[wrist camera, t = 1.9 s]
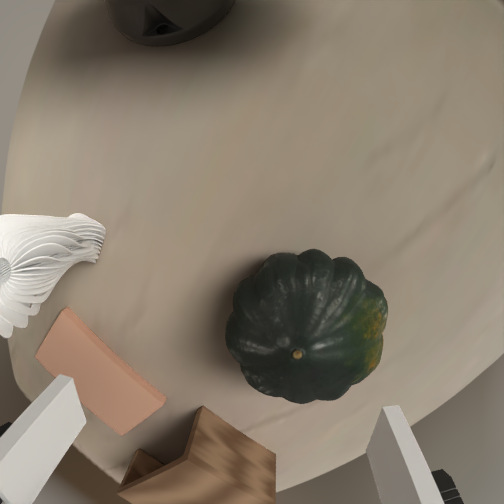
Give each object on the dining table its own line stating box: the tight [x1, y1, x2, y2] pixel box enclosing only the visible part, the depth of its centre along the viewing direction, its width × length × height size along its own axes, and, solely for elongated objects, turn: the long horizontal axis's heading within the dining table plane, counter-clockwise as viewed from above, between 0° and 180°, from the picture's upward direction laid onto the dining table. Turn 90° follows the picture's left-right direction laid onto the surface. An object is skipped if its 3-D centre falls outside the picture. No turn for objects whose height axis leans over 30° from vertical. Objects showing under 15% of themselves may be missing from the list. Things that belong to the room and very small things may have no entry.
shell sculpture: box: [0, 213, 106, 338], centre depth 25 cm, size 8×8×18 cm
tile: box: [35, 307, 167, 436], centre depth 38 cm, size 18×12×2 cm, turn 46°
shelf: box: [117, 406, 276, 504], centre depth 36 cm, size 14×18×10 cm
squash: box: [225, 249, 388, 404], centre depth 28 cm, size 14×15×15 cm
